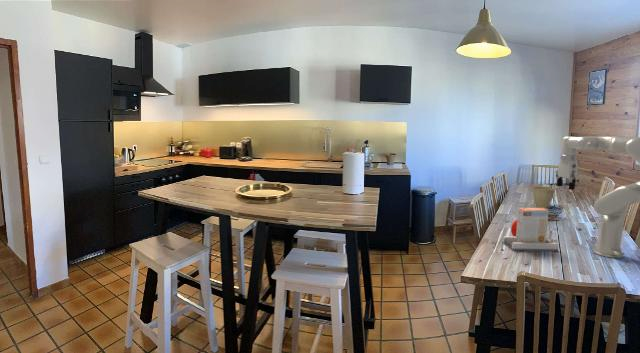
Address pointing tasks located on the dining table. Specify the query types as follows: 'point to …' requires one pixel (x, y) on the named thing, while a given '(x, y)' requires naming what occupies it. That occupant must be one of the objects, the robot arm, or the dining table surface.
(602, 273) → the dining table surface
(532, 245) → the shallow gray tray
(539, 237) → the cracker box
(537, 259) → the dining table surface
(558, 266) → the dining table surface
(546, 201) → the plant pot
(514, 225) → the apple
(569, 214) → the dining table surface
